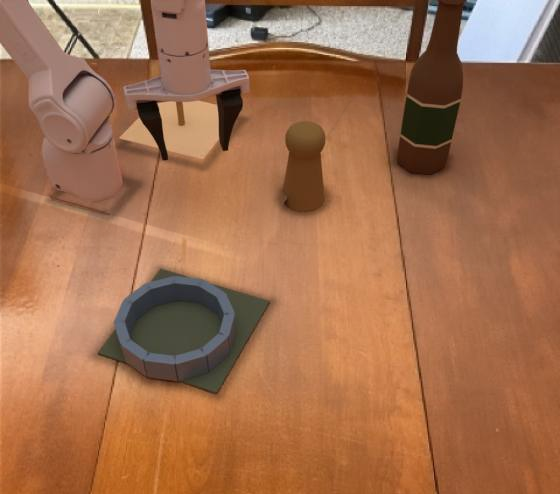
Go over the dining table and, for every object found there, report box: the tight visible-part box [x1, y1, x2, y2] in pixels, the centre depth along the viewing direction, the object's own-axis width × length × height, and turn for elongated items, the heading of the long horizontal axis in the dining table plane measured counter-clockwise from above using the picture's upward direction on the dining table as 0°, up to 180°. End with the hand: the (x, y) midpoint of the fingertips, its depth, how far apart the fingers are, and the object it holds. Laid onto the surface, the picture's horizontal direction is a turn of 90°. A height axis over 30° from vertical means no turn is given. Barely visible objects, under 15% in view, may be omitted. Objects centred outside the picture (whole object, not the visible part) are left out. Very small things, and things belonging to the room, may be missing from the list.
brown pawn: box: [282, 120, 326, 213], centre depth 91 cm, size 6×6×11 cm
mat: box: [97, 268, 271, 395], centre depth 80 cm, size 15×15×1 cm
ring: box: [113, 276, 236, 382], centre depth 78 cm, size 13×13×3 cm
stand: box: [118, 100, 243, 160], centre depth 102 cm, size 14×14×7 cm
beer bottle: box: [396, 0, 468, 175], centre depth 91 cm, size 8×8×24 cm
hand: (194, 151), depth 86 cm, fingers open, 7 cm apart
